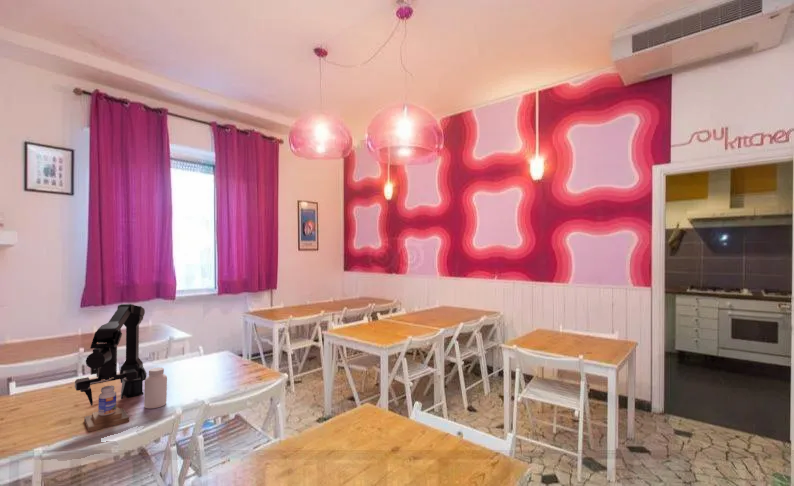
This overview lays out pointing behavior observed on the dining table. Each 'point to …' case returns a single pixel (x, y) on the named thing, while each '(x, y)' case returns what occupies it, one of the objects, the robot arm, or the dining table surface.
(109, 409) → the pill bottle
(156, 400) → the pill bottle
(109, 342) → the robot arm
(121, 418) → the walnut stand
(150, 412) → the dining table surface
